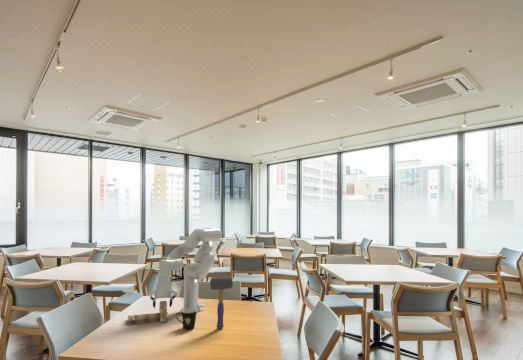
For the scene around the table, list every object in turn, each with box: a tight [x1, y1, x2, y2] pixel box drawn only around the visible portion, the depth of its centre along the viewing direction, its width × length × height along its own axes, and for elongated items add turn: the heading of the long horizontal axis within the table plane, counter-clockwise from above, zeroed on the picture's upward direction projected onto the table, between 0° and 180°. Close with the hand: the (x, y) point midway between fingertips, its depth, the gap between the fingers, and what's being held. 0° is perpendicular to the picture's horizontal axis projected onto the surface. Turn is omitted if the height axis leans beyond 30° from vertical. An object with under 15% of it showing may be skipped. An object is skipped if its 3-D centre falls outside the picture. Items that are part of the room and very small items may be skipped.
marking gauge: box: [158, 300, 169, 323], centre depth 206 cm, size 4×14×10 cm, turn 22°
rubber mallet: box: [209, 275, 234, 330], centre depth 193 cm, size 12×8×30 cm, turn 112°
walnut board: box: [127, 312, 169, 326], centre depth 204 cm, size 23×10×3 cm, turn 112°
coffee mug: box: [175, 308, 198, 331], centre depth 192 cm, size 12×9×10 cm
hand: (162, 306), depth 207 cm, fingers open, 9 cm apart
